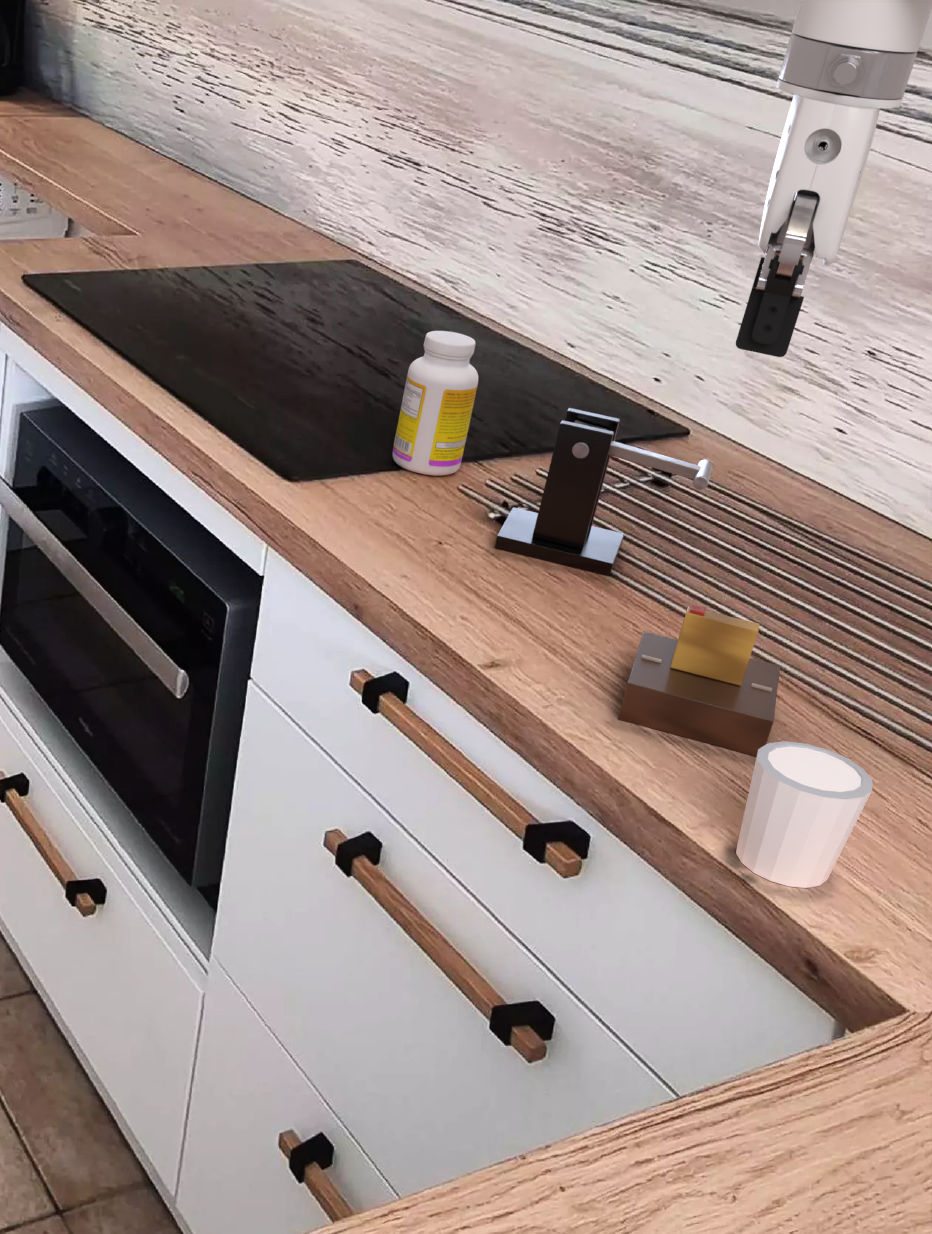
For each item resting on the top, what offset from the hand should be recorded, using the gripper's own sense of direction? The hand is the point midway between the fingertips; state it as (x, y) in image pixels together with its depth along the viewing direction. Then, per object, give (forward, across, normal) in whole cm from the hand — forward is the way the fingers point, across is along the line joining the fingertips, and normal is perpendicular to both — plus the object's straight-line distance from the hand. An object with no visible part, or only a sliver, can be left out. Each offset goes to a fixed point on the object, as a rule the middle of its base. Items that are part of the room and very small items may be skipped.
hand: (763, 334), depth 118 cm
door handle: (+19, +24, +7) cm, 32 cm away
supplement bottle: (+28, +37, +26) cm, 53 cm away
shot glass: (+28, -21, -10) cm, 36 cm away
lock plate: (+28, -2, -3) cm, 28 cm away
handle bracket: (+28, +24, +11) cm, 38 cm away
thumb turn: (+24, -2, -3) cm, 25 cm away
